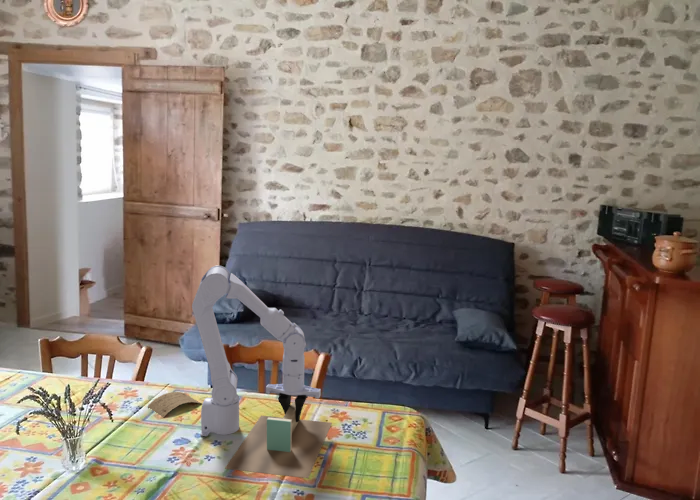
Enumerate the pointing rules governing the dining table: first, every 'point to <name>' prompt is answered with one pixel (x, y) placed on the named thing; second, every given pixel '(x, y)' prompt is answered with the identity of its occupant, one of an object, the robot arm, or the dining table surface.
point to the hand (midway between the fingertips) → (293, 420)
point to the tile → (279, 434)
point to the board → (292, 463)
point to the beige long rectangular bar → (291, 415)
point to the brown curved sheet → (169, 402)
